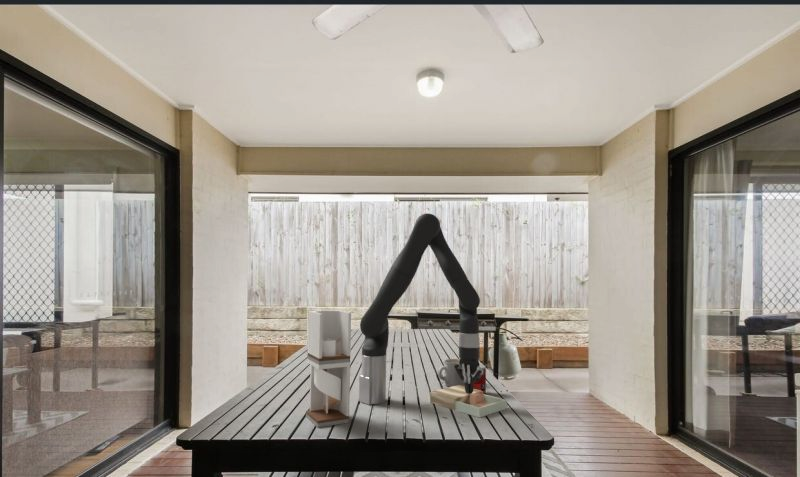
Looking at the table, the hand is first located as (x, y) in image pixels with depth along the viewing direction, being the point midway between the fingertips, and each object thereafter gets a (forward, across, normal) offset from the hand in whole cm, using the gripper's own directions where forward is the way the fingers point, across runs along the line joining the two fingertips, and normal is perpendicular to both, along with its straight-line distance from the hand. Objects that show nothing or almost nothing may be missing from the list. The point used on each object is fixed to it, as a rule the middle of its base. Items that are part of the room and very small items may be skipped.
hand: (469, 393), depth 169 cm
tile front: (+2, +7, 0) cm, 8 cm away
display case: (+5, -20, -48) cm, 52 cm away
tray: (+4, +5, 0) cm, 7 cm away
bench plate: (+4, -6, 0) cm, 7 cm away
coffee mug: (+5, -25, +19) cm, 32 cm away
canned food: (+5, -9, +15) cm, 18 cm away
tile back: (+2, +2, 0) cm, 3 cm away
